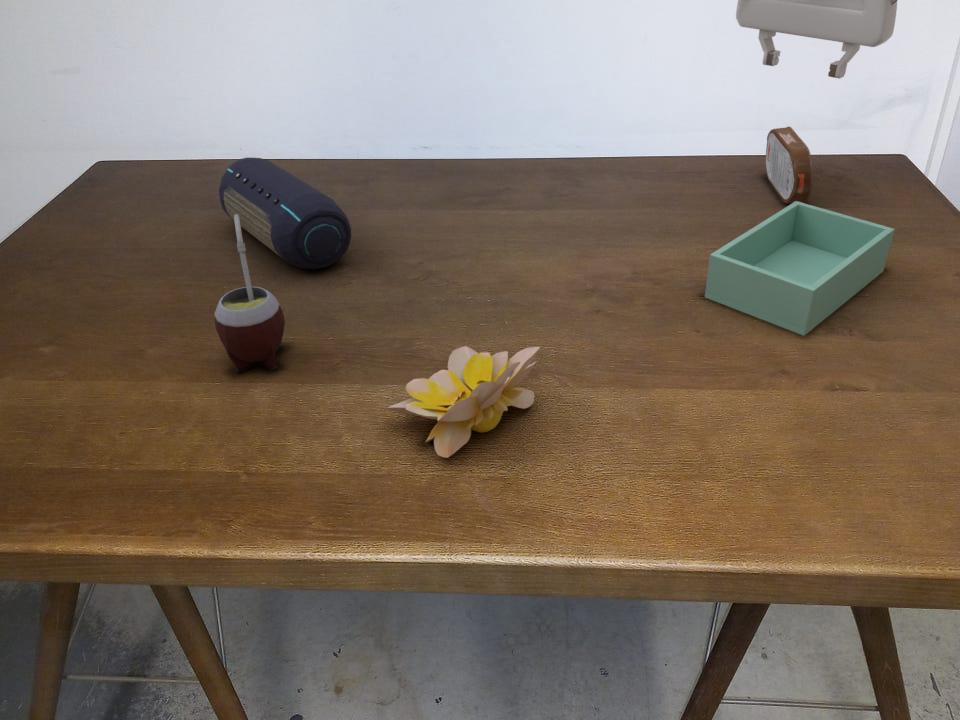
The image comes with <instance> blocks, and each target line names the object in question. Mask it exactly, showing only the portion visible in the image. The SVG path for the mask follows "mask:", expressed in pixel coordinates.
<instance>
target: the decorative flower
mask: <svg viewBox="0 0 960 720" xmlns="http://www.w3.org/2000/svg"><path fill="white" fill-rule="evenodd" d="M540 348H541V346H530V347H525V348H524V349H522V350H520V351H518V352H516V353H515V354H513V356H511V357H510V358H509V352H508V350H506V351H499V352H496V353H495V354H493V355H491V353H490V352H488V351H487V352H485V351H484V352H483V351H482V352H481V351H480V352H477V351H476V350H475V349H472V348H471V347H469V346H468V345H463V346H461V347H459V348H458V347H457V348H455V349H454V350H452V351H451V353H450V355H449V357H448V362H447V369H440V370H439V371H437V372H435V373H433V374H432V375H431V376H430V377H429V378H413V379H411V380H410V381H409V382H408V383H406V385H405V391H406V392H407V394H408V395H409V396H410V398H408V399H405V400H403V401H400V402H397V403H395V404H392V405H390V406H388V407H386V408H383V410H385V411H390V412H391V411H392V412H396V413H400V414H405V415H410V416H419V417H422V418H426V419H430V420H436V421H437V423H436V424H435V425H434V426H433V428H432V429H431V430H430V433H429V434H428V437H427V439H426V440H425V443H430V442H431V441H433V446H434V451H435V453H436V455H437V456H440V457H442V458H449V457H451V456H452V455H454V454H455V453H456V452H457V451H459V450H460V449H461V448H462V447H463V446H464V445H466V444H467V443H468V442H469V440H470V438H471V436H472V431H474V432H477V433H487V432H490V431H492V430H494V429H495V428H496V427H497V426H498V424H499V423H500V421H501V419H502V416H503V413H504V412H507V411H509V410H508V407H511V406H512V407H515V408H519V409H524V410H525V409H527V408H530V407H531V406H532V405H533V404H534V402H535V392H534V391H532V390H530V389H527V388H526V387H525V388H524V387H523V386H522V387H521V386H517V385H518V384H519V383H521V382H522V381H523V380H524V379H525V378H526V377H527V376H528V375H529V373H531V371H532V370H533V368H534V367H535V364H536V363H537V360H536V361H534V359H535V357H536V355H537V354H538V352H539V350H540ZM533 361H534V362H533Z"/></svg>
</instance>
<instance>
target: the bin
mask: <svg viewBox="0 0 960 720" xmlns="http://www.w3.org/2000/svg"><path fill="white" fill-rule="evenodd" d="M894 234H895V228H893V227H889V226H886V225H882V224H879V223H875V222H872V221H868V220H866V219H865V220H864V219H861V218H859V217H854V216H851V215H846V214H844V213H840V212H836V211H833V210H830V209H825V208H822V207H819V206H815V205H812V204H808V203H806V202H805V203H801V202H798V201H795V202H793V203H792V204H788V205H787V206H786V207H783V209H781V210H779V211H777V212H776V213H775V214H773V215H771V216H769V217H768V218H766V219H765V220H763V221H761V222H760V223H758V224H757V225H755V226H753V227H752V228H750V229H749V230H747V231H745V232H744V233H743V234H742V233H741V235H739V236H737V237H736V238H734V239H733V240H731V241H729V242H728V243H726V244H724V245H723V246H721V247H720V248H718V249H717V250H715V251H713V252H712V253H710V254H709V259H708V268H707V276H706V282H705V289H704V298H705V299H709V300H711V301H713V302H716V303H719V304H721V305H724V306H726V307H729V308H732V309H734V310H737V311H738V312H742V313H743V314H747V315H750V316H752V317H755V318H758V319H760V320H762V321H765V322H767V323H770V324H773V325H775V326H777V327H780V328H783V329H786V330H788V331H791V332H792V333H796V334H798V335H801V336H806V335H807V334H808V333H809V332H811V331H812V330H813V329H814V328H816V327H817V326H818V325H819V324H821V323H822V322H823V321H824V320H825V319H827V318H828V317H829V316H831V314H833V313H835V311H837V310H838V309H839V308H840V307H841V306H843V305H845V303H846V302H848V301H849V300H850V299H852V298H853V297H854V296H855V295H856V294H858V293H859V292H860V291H861V290H862V289H864V288H865V287H866V286H867V285H869V284H870V283H871V282H872V281H874V280H875V279H876V278H877V277H878V276H880V275H881V274H882V273H884V271H885V267H886V264H887V259H888V256H889V252H890V248H891V245H892V241H893V237H894Z"/></svg>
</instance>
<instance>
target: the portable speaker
mask: <svg viewBox="0 0 960 720" xmlns="http://www.w3.org/2000/svg"><path fill="white" fill-rule="evenodd" d="M219 183H220V184H219V187H218V193H219V194H218V195H219V202H220V206H221V207H222V208H221V209H222V210H223V211H224V213H225V214H226V215H227V216H228V217H229V218H230V219H231V220H232V221H234V215H235V214H238V215H239V219H240V226H241V228H242V229H244V230H245V231H246V232H248V233H249V234H250V235H251V236H253V237H254V238H256V240H258V241H259V242H261V243H262V244H263V245H264V246H266V247H267V248H268V249H269V250H271V251H272V252H273V253H275V254H276V255H277V256H279V258H281V259H282V260H284V261H285V262H287V263H288V264H290V265H291V266H292V267H295V268H299V269H303V270H319V269H324V268H327V267H331V266H332V265H334V264H335V263H337V262H338V261H340V259H341V258H343V256H344V255H345V254H346V252H347V251H348V249H349V246H350V244H351V241H352V227H351V224H350V220H349V218H348V216H347V215H346V214H345V212H344V211H343V209H342V208H341V207H340V206H339V205H338V204H337V203H336V201H335V200H334V199H333V198H331V197H329V196H328V195H326V194H325V193H323V192H321V191H320V190H318V189H317V188H315V187H313V186H312V185H310V184H309V183H306V182H305V181H303V180H301V179H300V178H299V177H297V176H295V175H294V174H292V173H290V172H289V171H287V170H286V169H284V168H282V167H280V166H279V165H277V164H276V163H275V162H272V161H270V160H269V159H265V158H262V157H243V158H240V159H238V160H236V161H234V162H233V163H232V164H230V165H229V167H227V169H226V171H225V172H224V173H223V175H222V176H221V179H220V182H219Z"/></svg>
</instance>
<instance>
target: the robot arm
mask: <svg viewBox="0 0 960 720" xmlns="http://www.w3.org/2000/svg"><path fill="white" fill-rule="evenodd" d="M897 10H898V0H737V5H736V12H735V19H736V20H737V24H738V25H739V27H741V28H746V29H754V30H759V31H758V38H757V39H758V41H759V43H760V46H761V49H762V52H763V57H762V65H763V66H769V67H775V66H777V65H779V62H780V58H779V57H780V56H781V50H777V49H776V48H775V44H774V40H773V38H774V37H775V36H777V33H779V34H786V35H792V36H799V37H805V38H812V39H818V40H824V41H831V42H838V43H842V46H841V52H843V53H844V54H843V55H842V56H841V58H840V59H839V60H834V61H833V62H830V64H829V71H828V74H827V76H828V78H833V79H838V80H840V79H842V78H844V77H845V75H846V72H847V67H848V63H850V61H851V60H852V59H853V58H854V56H856V54H857V53H858V52H859V51H860V48H861V46H863V47H869V48H875V47H879V46H881V45H883V44H884V43H887V41H889V40H890V39H891V38H892V36H893V35H894V30H895V24H896V18H897Z"/></svg>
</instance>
